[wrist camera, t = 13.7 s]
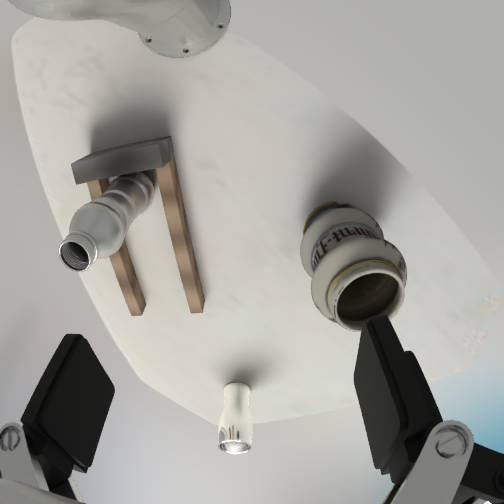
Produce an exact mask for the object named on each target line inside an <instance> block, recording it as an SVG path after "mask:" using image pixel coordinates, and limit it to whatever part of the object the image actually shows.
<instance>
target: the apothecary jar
mask: <svg viewBox="0 0 504 504" xmlns="http://www.w3.org/2000/svg"><path fill="white" fill-rule="evenodd" d="M300 255H301V261H302V264H303V267H304V269H305V271H306V272H307V273H308V275H309V276H310V277H311V278H312V281H311V294H312V298H313V301H314V303H315V305H316V307H317V308H318V310H319V311H320V312H321V313H322V314H323V315H324V316H325V317H326V318H328V319H329V320H331V321H333V322H336V323H338V324H339V325H340V326H342V327H343V328H345V329H347V330H350V331H354V332H361V330H362V324H363V323H364V322H367V321H368V318H369V317H373V316H380V315H387V316H388V318H389V320H391V319H392V318H393V317H394V316H395V315H396V314H397V312H398V311H399V309H400V308H401V306H402V303H403V301H404V295H405V290H404V289H405V285H406V280H407V268H406V263H405V260H404V258H403V256H402V254H401V253H400V251H399V250H398V249H397V248H396V247H395V246H394V245H393V244H391V243H390V242H388V241H386V240H384V236H383V232H382V230H381V228H380V226H379V224H378V223H377V222H376V221H375V220H374V219H373V218H372V217H371V216H370V215H368V214H367V213H365V212H363V211H361V210H358V209H356V208H355V207H353V206H352V205H350V204H342V205H338V204H336V203H335V202H331V203H327V204H324V205H322V206H320V207H319V208H317V209H316V210H315V211H314V212H313V213H312V214H311V215H310V216H309V217H308V219H307V221H306V223H305V226H304V231H303V239H302V242H301V248H300Z"/></svg>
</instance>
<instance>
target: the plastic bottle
mask: <svg viewBox="0 0 504 504" xmlns="http://www.w3.org/2000/svg"><path fill="white" fill-rule="evenodd" d="M153 197H154V186H153V184H152V182H151V180H150V179H149V178H148V177H147V176H146V175H145V174H143V173H141V172H134V173H129V174H124V175H119V176H116V177H115V178H114V180H113V181H112V182H111V184H110V185H109V187H108V189H107V190H106V191H105V192H104V193H103V194H102V195H101V196H99V197H98V198H96V199H95V200H93V201H91V202H89V203H87V204H85V205H84V206H82V207H81V208H79V209H78V210H77V211H76V212H75V214H74V216H73V217H72V220H71V223H70V228H69V233H70V234H69V235H68V236H67V237H66V239H65V240H64V241H63V242H62V243H61V245H60V247H59V256H60V259H61V261H62V262H63V263H64V265H65V266H66V267H67V268H69V269H71V270H72V271H76V272H83V271H85V270H86V269H88V268H89V267H90V265H91V264H93V263H94V262H95V260H96V259H104V258H107V257H109V256H111V255H113V254H114V253H116V252H117V251H118V250H119V248H120V247H121V245H122V243H123V241H124V238H125V236H126V233H127V230H128V228H129V227H130V225H131V223H132V222H133V220H134V219H135V218H136V217H137V216H139V215H140V214H142V213H143V212H144V211H146V210H147V209H148V208H149V207H150V205H151V203H152V200H153Z"/></svg>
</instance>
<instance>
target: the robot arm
mask: <svg viewBox="0 0 504 504" xmlns="http://www.w3.org/2000/svg"><path fill="white" fill-rule="evenodd" d="M8 1H9V2H10V3H11V4H12V5H14V6H15V7H16V8H18V9H20V10H22V11H23V12H25V13H27V14H30V15H32V16H36V17H39V18H43V19H49V20H59V21H82V20H97V19H100V20H106V21H109V22H112V23H115V24H118V25H120V26H122V27H125V28H128V29H130V30H133V31H135V32H138V34H139V36H140V39H141V40H142V41H143V43H144V44H145V45H146V46H147V47H148V48H149V49H151V50H152V51H154V52H156V53H158V54H160V55H163V56H168V57H177V58H182V57H189V56H193V55H196V54H199V53H201V52H203V51H205V50H207V49H209V48H210V47H211V46H213V45H214V44H215V43H216V42H217V41H218V40H219V39H220V38H221V37H222V36H223V34H224V33H225V31H226V29H227V27H228V25H229V22H230V17H231V7H230V2H229V0H8ZM220 25H222V26H223V27H222V28H219V26H220ZM150 39H152V41H151V42H149V40H150ZM186 50H189V52H188V53H186V52H185V51H186ZM354 385H355V389H356V393H357V396H358V400H359V404H360V408H361V412H362V416H363V420H364V424H365V428H366V432H367V437H368V441H369V445H370V449H371V454H372V458H373V463H374V466H375V468H376V469H380V470H381V474H382V475H384V474H389V473H390V476H391V481H392V483H394V485H393V487H392V488H391V490H390V491H389V493H388V495H387V496H386V498H385V499H384V501H383V503H382V504H504V454H502V453H499V452H496V451H494V450H491V449H489V448H486V447H484V446H482V445H479V444H477V443H474V438H473V434H472V432H471V430H470V429H469V428H468V427H467V426H466V425H465V424H463V423H461V422H459V421H454V420H450V421H444V422H443V419H442V417H441V414H440V412H439V409H438V407H437V405H436V402H435V400H434V397H433V395H432V393H431V390H430V388H429V386H428V383H427V381H426V379H425V376H424V374H423V372H422V370H421V367H420V365H419V363H418V361H417V359H416V357H415V355H414V353H413V352H412V351H405V352H404V350H403V348H402V346H401V343H400V341H399V339H398V337H397V335H396V333H395V330H394V328H393V326H392V324H391V322H390V320H389V318H388V316H387V315H380V316H373V317H369V318H368V321H367V322H364V323H363V324H362V330H361V337H360V343H359V349H358V355H357V361H356V366H355V371H354ZM114 393H115V388H114V385H113V383H112V382H111V380H110V378H109V377H108V375H107V374H106V372H105V370H104V369H103V367H102V365H101V364H100V362H99V360H98V358H97V357H96V355H95V353H94V351H93V350H92V348H91V346H90V344H89V343H88V341H87V340H86V339H85V338H84V337H83V336H82V335H81V334H66V335H65V336H64V338H63V339H62V341H61V343H60V344H59V346H58V348H57V350H56V351H55V354H54V355H53V357H52V359H51V360H50V362H49V364H48V366H47V368H46V370H45V372H44V374H43V375H42V377H41V379H40V381H39V383H38V385H37V387H36V389H35V391H34V393H33V395H32V397H31V399H30V401H29V403H28V405H27V407H26V409H25V411H24V413H23V415H22V418H21V422H22V423H23V426H22V427H21V426H20V425H19V424H18V423H13V422H11V423H8V424H5V425H4V426H3V427H2V428H1V429H0V504H85V503H84V501H83V499H82V497H81V494H80V492H79V490H78V488H77V486H76V484H75V481H74V479H73V476H72V474H71V473H72V470H73V469H74V470H75V471H79V472H82V473H87V470H88V467H90V466H91V465H92V462H93V459H94V455H95V452H96V449H97V445H98V442H99V439H100V436H101V432H102V429H103V426H104V423H105V420H106V417H107V414H108V411H109V408H110V405H111V402H112V399H113V396H114Z"/></svg>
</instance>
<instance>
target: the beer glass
mask: <svg viewBox="0 0 504 504" xmlns="http://www.w3.org/2000/svg"><path fill="white" fill-rule="evenodd" d="M250 393H251V390H250V388H249V386H247V385H246V384H243V383H237V382H235V383H230V384H227V385H226V386H225V387H224V399H225V401H224V407H223V410H222V414H221V417H220V421H219V427H218V448H219V449H220V450H222V451H224V452H228V453H234V454H237V453H245V452H248V451H249V450H250V449H251V444H252V432H253V429H252V419H251V414H250V409H249V397H250Z"/></svg>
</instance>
